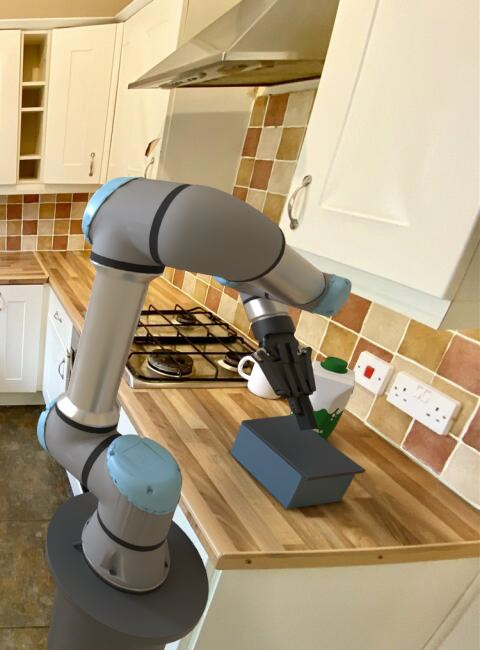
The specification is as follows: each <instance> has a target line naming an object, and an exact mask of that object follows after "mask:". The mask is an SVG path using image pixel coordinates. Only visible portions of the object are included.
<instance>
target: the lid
mask: <svg viewBox="0 0 480 650" xmlns="http://www.w3.org/2000/svg"><path fill="white" fill-rule="evenodd" d="M241 423H242V424H243V425H244V426H245V427H246V428H247V429H249V430H250V431H251V432H252V433H253V434H254V435H255V436H257V437H258V438H259V439H260V440H261V441H262V442H263V443H265V444H266V445H267V446H268V447H269V448H270V449H271V450H272V451H274V452H275V453H276V454H277V455H278V456H279V457H280V458H282V459H283V460H284V461H285V462H286V463H287V464H288V465H290V466H291V467H292V468H293V469H294V470H295V471H296V472H298V473H299V474H300V475H301V476H302V477H303V478H304V479H305V480H307V481H309V480H316V479H324V478H331V477H338V476H345V475H353V474H356V475H360V474H364V473H365V472H366V469H365V468H364V467H362V466H361V465H360V464H358V463H357V462H356V461H354V460H353V459H352V458H350V457H349V456H347V454H345V453H343V452H342V451H341V450H340V449H338V448H337V447H336V446H335V445H333V444H332V443H330V442H329V441H327V440H325V439H323V438H322V437H321V436H319V435H318V434H317V433H315V432H314V431H313V430H301V431H300V428H299V425H298V422H297V420H296V418H295V417H294V416H293V415H290V414H287V415H278V416H270V417H269V416H268V417H261V418H260V417H259V418H252V419H243V420H241Z"/></svg>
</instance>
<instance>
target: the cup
mask: <svg viewBox="0 0 480 650" xmlns="http://www.w3.org/2000/svg"><path fill="white" fill-rule="evenodd" d="M247 361H250V362H252V363H254V365H253V367H252V371H251V372H250V375H248V374H246V373H245V372H244V370H243V366H244V364H245V363H246V362H247ZM237 372H238V374H239V376H240V377H242V378H243V379H245V380H247V388H248V391H250V392H251V393H252V394H254V395H256V396H258V397H260V398H263V399H267V400H268V399H269V400H276V399H279V398H281V396H277V395H276V394H275V393H274V391H273V389H272V387H271V386H270V384H269V382H268V380H267V379H266V377H265V375H264V373H263V372H262V370H261V368H260V366H259V365H258V363H257V362H256V361H255V360H254V359H253V358H252V357H251V355H250V356H249V355H246V356H243V357H242V359H240V361H239V363H238V365H237ZM280 390H281V389H280Z"/></svg>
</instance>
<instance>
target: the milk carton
mask: <svg viewBox="0 0 480 650" xmlns="http://www.w3.org/2000/svg"><path fill="white" fill-rule="evenodd" d="M348 365H349V362H348V361H346V360H345V359H342V358H340V357H336V356H326V357H325V359H324V361H318V360H312V366H313V372H314V379H315V385H316V391H315V392H313V394H312V395H309V398H310V401H311V404H312V406H313V409H314V412H313V415H314V417H315V420H316V423H317V425H318V428H319V429H312V430H313V431H314V432H315V433H317V434H318V435H319V436H321V437H322V438H323V439H325V440H326V441H327V440H329V438H330V436H331V434H332V433H333V432H334V430H335V429H336V427H337V425H338V424H339V421H340V419H341V417H342V416H343V413H344V411H345V409H346V407H347V406H348V403H349V401H350V399H351V396H352V395H353V394H354V389H355V385H356V371H355V370H351V369H348ZM300 390H301V389H300ZM289 415H293V416H294V417H295V414H293V413H292V412H291V411H290V413H289ZM295 418H296V417H295Z"/></svg>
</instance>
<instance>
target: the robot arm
mask: <svg viewBox="0 0 480 650" xmlns="http://www.w3.org/2000/svg"><path fill="white" fill-rule="evenodd" d="M81 231H82V233H83V237H84V240H85V241H86V242H88V244H89V245H91V250H90V254H89V262H90V263H91V265H92V266H93V268H94V269H95V274H94V279H93V283H92V286H91V291H90V294H89V295H90V296H89V299H88V303H87V308H86V312H85V316H84V320H83V324H82V329H81V332H80V337H79V341H78V345H77V349H76V353H75V357H74V362H73V365H72V370H71V374H70V378H69V382H68V386H67V390H66V391H63V392H61V393H60V394H59V395H57V397H56V398H54V399H53V400H51V401H50V402H48V404H47V405H46V406H45V411H42V412H41V414H40V415H39V418H38V422H37V427H36V432H37V434H36V436H37V439H38V442H39V444H40V446H41V447H42V448H43V450H45V451H46V452H47V454H48V455H49V457H50V458H52V460H54V461H55V462H57V463H58V464H59V465H60V466H61V467H62V468H64V470H66V471H67V472H68V473H69V474H70V475H71V476H73V477H74V479H76V480H77V481H78V482H79V483H80V484H82V486H83V487H84V488H86V490H88V492H91V493H92V494H93V495H95V496H96V497H97V498H98V500H99V503H98V509H97V510H96V511H95V512H94V514H93V515H92V516H91V517H90V518H89V519H88V521H87V522H86V524H85V526H84V528H83V531H82V537H81V541H78V542H73V546H74V547H78V546H81V549H82V553H83V556H84V559H85V561H86V563H87V565H88V566H89V568H90V569H91V570H92V572H93V573H94V574H95V575H96V576H97V577H98V578H99V579H100V580H102V581H103V582H104V583H105V584H107V585H109V586H110V587H112V588H114V589H116V590H118V591H121V592H124V593H127V594H133V595H144V594H149V593H152V592H154V591H156V590H158V589H159V588H160V587H161V586H162V585H163V584H164V582H165V580H166V578H167V575H168V572H169V568H170V555H169V550H168V544H167V538H166V537H167V534H168V531H169V528H170V525H171V522H172V520H173V519H174V517H175V513H176V510H177V508H178V505H179V503H180V500H181V497H182V487H183V474H182V470H181V469H182V468H181V467H180V465H179V463H178V460H177V459H176V458H175V456H174V455H173V454H172V453H171V451H169V450H168V449H167V448H166V447H165V446H163V444H161V443H159V442H158V441H155V440H154V439H152V438H150V437H147V436H144V437H141V436H140V435H139V434H133V433H132V434H131V433H129V434H122V433H121V432H119V431H118V430H117V429H118V425H119V422H120V417H121V414H120V412H119V409H118V408H117V407H116V405H115V403H116V400H117V396H118V394H119V391H120V387H121V384H122V380H123V376H124V372H125V369H126V367H127V362H128V360H129V356H130V352H131V349H132V345H133V343H134V339H135V337H136V332H137V328H138V325H139V322H140V319H141V315H142V312H143V308H144V305H145V301H146V298H147V294H148V291H149V287H150V285H151V282H153V280H155V279H158V278H159V277H161V276H163V275H164V273H165V270H166V268H172V269H174V270H177V271H184V272H189V273H193V274H200V275H205V276H210V277H212V278H213V280H215V282H216V283H218V284H219V285H221V286H222V287H227V288H230V289H232V290H235V291H237V292H238V294H239V297H240V300H241V303H242V305H243V309H244V312H245V314H246V317H247V321H248V322H249V323H250V329H251V332H252V336H253V338H254V340H256V341H258V345H257V347H258V349H257V350H256V351H255V352H252V353H251V354H250V356H251V357H252V358H253V359H254V360H255V361H256V362H257V363H258V365H259V366H260V368H261V370H262V372H263V373H264V375H265V377H266V379H267V380H268V382H269V384H270V386H271V387H272V389H273V391H274V393H275V394H276V395H277V396H280V399H282V400H286V401H287V403H288V406H289V409H290V412H292V413H293V414H295V417H296V420H297V422H298V425H299V428H300V431H301V430H312V429H319V428H318V425H317V423H316V420H315V417H314V415H313V412H314V409H313V406H312V404H311V401H310V398H309V395H312V394H313V392H315V391H316V385H315V379H314V372H313V366H312V363H313V359H312V355H313V348H312V347H311V346H303V345H301V344H300V341H299V340H298V339H297V337H296V336H295V333H296V331H297V329H296V326H295V324H294V321H293V318H292V316H290V315H289V314H290V310H289V307H292V308H295V309H298V310H301V311H304V312H307V313H309V314H313V315H319V316H323V317H327V318H328V317H329V318H330V317H333V316H336V315H337V314H339V312H340V311H341V310H342V309H343V307H344V306H345V304H346V302H347V301H348V299H349V297H350V294H351V291H352V286H353V285H352V281H351V280H350V279H349V278H346V277H343V276H341V275H336V274H335V273H328V272H323V271H321V270H320V269H318V268H317V267H316V266H315V265H314V264H312V263H311V262H310V261H309V260H307V259H306V258H305V257H304V256H303V255H301V254H300V253H299V252H298V251H296V250H295V249H294V248H293V247H291V246H290V245H289V244H287V240H286V236H285V233H284V231H283V230H282V228H281V227H280V226H279V225H278V224H277V223H276V222H275V221H273V220H272V219H271V218H270V217H269V216H268V215H266V214H265V213H263V212H262V211H261V210H259V209H257V208H256V207H254V206H253V205H251V204H249V203H247V202H246V201H244V200H242V199H240V198H238V197H237V196H235V195H233V194H231V193H229V192H226V191H223V190H221V189H219V188H217V187H214V186H213V187H212V186H210V185H204V184H190V183H186V182H185V183H184V182H177V181H168V180H161V179H153V178H147V177H143V176H119V177H115V178H112V179H110V180H108V181H106V182H105V183H104V184H103V185H102V186H101V187H100V188H98V189H97V190H96V191H95V192H94V194H93V195H92V196H91V197H90V199H89V201H88V203H87V204H86V208H85V209H84V212H83V216H82V222H81ZM288 306H289V307H288ZM280 389H281V390H280ZM300 389H301V390H300Z"/></svg>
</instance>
